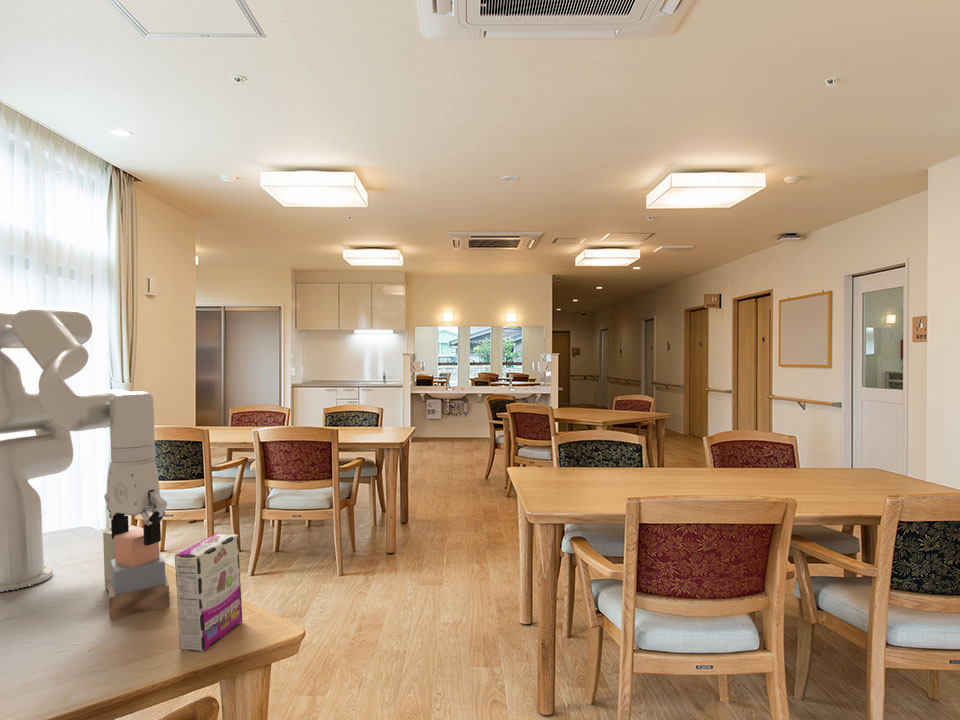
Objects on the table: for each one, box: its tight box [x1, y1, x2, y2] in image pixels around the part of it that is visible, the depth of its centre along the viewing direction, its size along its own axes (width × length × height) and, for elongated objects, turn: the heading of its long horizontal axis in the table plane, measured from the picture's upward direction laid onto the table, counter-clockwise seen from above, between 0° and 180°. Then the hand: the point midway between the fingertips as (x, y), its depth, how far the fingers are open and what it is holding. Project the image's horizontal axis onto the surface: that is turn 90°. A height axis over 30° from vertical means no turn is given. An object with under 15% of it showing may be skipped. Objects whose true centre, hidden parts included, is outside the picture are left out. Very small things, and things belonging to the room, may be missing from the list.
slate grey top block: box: [111, 551, 166, 596], centre depth 119 cm, size 8×8×4 cm
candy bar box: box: [174, 533, 243, 653], centre depth 104 cm, size 11×5×16 cm, turn 168°
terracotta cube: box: [114, 527, 160, 567], centre depth 118 cm, size 6×6×6 cm
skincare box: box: [102, 524, 142, 591], centre depth 128 cm, size 6×4×12 cm
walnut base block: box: [108, 572, 171, 621], centre depth 119 cm, size 10×10×4 cm
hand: (136, 540), depth 118 cm, fingers open, 9 cm apart
